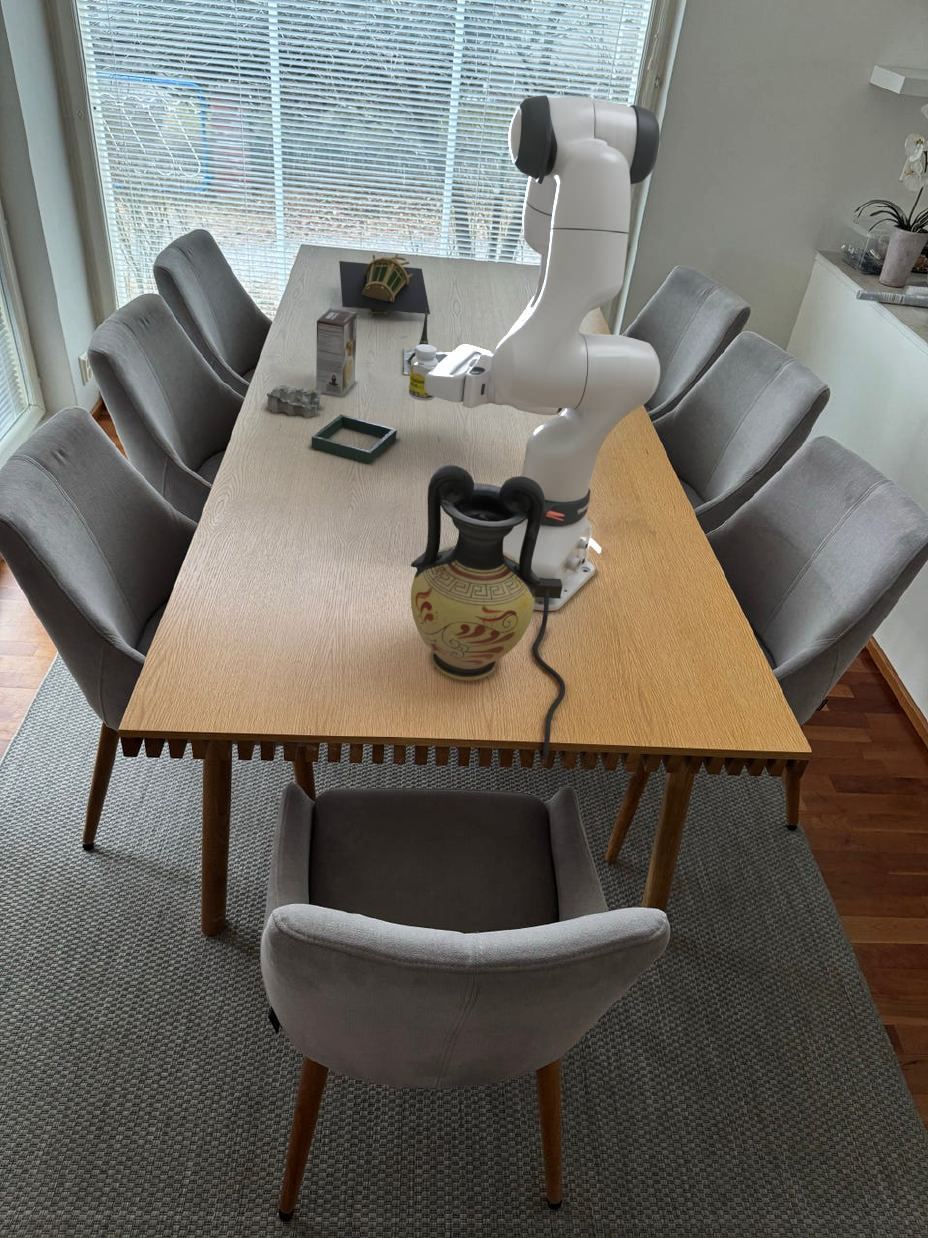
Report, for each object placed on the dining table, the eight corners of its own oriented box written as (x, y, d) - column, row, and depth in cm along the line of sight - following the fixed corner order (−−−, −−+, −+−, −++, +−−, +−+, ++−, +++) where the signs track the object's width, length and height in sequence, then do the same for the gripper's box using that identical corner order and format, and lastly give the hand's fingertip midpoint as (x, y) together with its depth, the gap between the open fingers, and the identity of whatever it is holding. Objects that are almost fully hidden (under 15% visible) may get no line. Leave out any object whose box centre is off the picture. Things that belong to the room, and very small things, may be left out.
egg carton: (264, 412, 195) (263, 393, 192) (275, 398, 201) (274, 379, 198) (314, 419, 194) (314, 401, 192) (323, 405, 200) (324, 387, 198)
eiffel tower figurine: (446, 377, 220) (452, 321, 212) (403, 374, 219) (408, 317, 211) (443, 353, 232) (448, 299, 224) (402, 350, 231) (406, 296, 223)
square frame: (369, 464, 181) (370, 453, 179) (311, 447, 184) (311, 436, 182) (396, 439, 191) (397, 429, 189) (340, 424, 193) (340, 414, 192)
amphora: (519, 628, 143) (551, 450, 125) (529, 702, 129) (566, 513, 112) (404, 621, 141) (420, 439, 124) (402, 694, 128) (419, 502, 110)
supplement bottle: (404, 397, 183) (408, 349, 178) (413, 388, 188) (417, 340, 182) (430, 403, 182) (435, 354, 177) (439, 393, 187) (443, 346, 181)
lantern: (338, 330, 248) (335, 267, 266) (423, 343, 254) (414, 280, 272) (345, 285, 238) (342, 222, 256) (434, 300, 244) (424, 237, 262)
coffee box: (328, 377, 213) (329, 306, 203) (355, 382, 212) (358, 311, 203) (315, 392, 205) (316, 319, 196) (343, 397, 205) (345, 325, 195)
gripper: (506, 345, 184) (441, 330, 187) (471, 379, 168) (400, 362, 171) (502, 376, 188) (439, 360, 191) (467, 411, 172) (398, 394, 175)
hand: (420, 361), depth 181 cm, fingers closed on supplement bottle, 5 cm apart
